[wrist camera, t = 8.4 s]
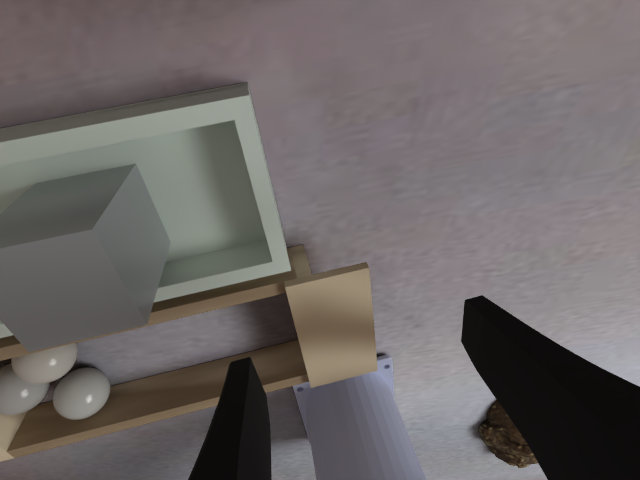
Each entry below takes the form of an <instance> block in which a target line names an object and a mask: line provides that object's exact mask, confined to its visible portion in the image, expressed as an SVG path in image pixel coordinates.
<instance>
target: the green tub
mask: <svg viewBox="0 0 640 480" xmlns="http://www.w3.org/2000/svg"><path fill="white" fill-rule="evenodd" d="M131 164H136V165H137V167H138V169H139V171H140V174H141V176H142V178H143V180H144V183H145V185H146V187H147V189H148V192H149V194H150V196H151V198H152V201H153V203H154V205H155V207H156V210H157V212H158V214H159V216H160V219H161V221H162V223H163V225H164V228H165V230H166V232H167V234H168V237H169V239H170V241H171V244H170V247H169V251H168V254H167V258H166V261H165V265H164V268H163V272H162V275H161V278H160V282H159V285H158V289H157V292H156V296H155V299H154V302H158V301H162V300H167V299H171V298H175V297H179V296H184V295H188V294H192V293H197V292H201V291H205V290H210V289H214V288H218V287H222V286H227V285H231V284H235V283H240V282H244V281H248V280H253V279H257V278H261V277H265V276H270V275H274V274H278V273H283V272H287V271H291V267H290V262H289V257H288V253H287V248H286V243H285V238H284V234H283V230H282V226H281V221H280V217H279V213H278V209H277V204H276V200H275V196H274V192H273V188H272V183H271V179H270V175H269V171H268V166H267V162H266V158H265V154H264V149H263V145H262V141H261V137H260V133H259V128H258V124H257V120H256V116H255V111H254V107H253V103H252V99H251V95H250V90H249V86H248V82H246V83H240V84H235V85H230V86H224V87H219V88H214V89H208V90H203V91H198V92H192V93H187V94H182V95H176V96H171V97H166V98H160V99H155V100H150V101H144V102H139V103H134V104H128V105H123V106H118V107H112V108H107V109H102V110H96V111H91V112H86V113H80V114H75V115H70V116H64V117H59V118H54V119H48V120H43V121H38V122H32V123H27V124H22V125H16V126H11V127H6V128H0V213H2V212H3V211H4V210H5V209H6V208H7V207H9V206H10V205H11V204H12V203H13V202H14V201H16V200H17V199H18V198H19V197H20V196H21V195H23V194H24V193H25V192H26V191H27V190H28V189H30V188H31V187H32V186H33V185H34V184H36V183H39V182H44V181H49V180H54V179H59V178H64V177H70V176H75V175H80V174H85V173H90V172H95V171H100V170H105V169H111V168H116V167H121V166H126V165H131ZM12 335H13V334H12V333H11V332H10V331H9V329H8V328H7V327H6V326H5V325H4V324H3V323H2V322H1V321H0V338H3V337H8V336H12Z"/></svg>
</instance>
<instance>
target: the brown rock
mask: <svg viewBox="0 0 640 480" xmlns="http://www.w3.org/2000/svg"><path fill="white" fill-rule="evenodd" d="M478 432H479V434H480V438H481V439H482V440H483V441H484V443H485V444H486V445H489V449H490V451H491V452H492V453H493V454H495V456H496V457H497V458H499V459H501V460H503V461H504V462H506V463H507V464H509V465H513V466H515V465H516V466H518V468H524V467H527V466H529V465H530V464H536V463H538V461H537V460H536V458H535V456H534V454H533V453H532V451H531V449H530V448H529V446H528V444H527V443H526V441H525V440H524V438H523V437H522V435H521V433H520V432H519V430H518V429H517V428H516V426H515V425H514V423H513V422H512V420H511V419H510V418H509V416H508V415H507V413H506V412H505V410H504V409H503V408H502V406H501V405H500V403H499V402H498V400H497V401H496V402H494V403H493V404H492V406H491V407H490V408H489V410H488V412H487V420H485V421H484V422H483V423H482V424H481V425H480V426H479V428H478Z"/></svg>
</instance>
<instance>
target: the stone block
mask: <svg viewBox="0 0 640 480" xmlns="http://www.w3.org/2000/svg"><path fill="white" fill-rule="evenodd" d="M170 244H171V241H170V239H169V237H168V234H167V232H166V230H165V228H164V225H163V223H162V221H161V219H160V216H159V214H158V212H157V210H156V207H155V205H154V203H153V201H152V198H151V196H150V194H149V192H148V189H147V187H146V185H145V183H144V180H143V178H142V176H141V174H140V171H139V169H138V167H137V165H136V164H131V165H126V166H121V167H116V168H111V169H105V170H100V171H95V172H90V173H85V174H80V175H75V176H70V177H64V178H59V179H54V180H49V181H44V182H39V183H36V184H34V185H33V186H32V187H31V188H30V189H28V190H27V191H26V192H25V193H24V194H23V195H21V196H20V197H19V198H18V199H17V200H16V201H14V202H13V203H12V204H11V205H10V206H9V207H7V208H6V209H5V210H4V211H3V212H2V213H0V321H1V322H2V323H3V324H4V325H5V326H6V327H7V328H8V329H9V331H10V332H11V333H12V334H13V335H14V336H15V337H16V338H17V340H18V341H19V342H20V343H21V344H22V345H23V346H24V347H25V348H26V350H27V351H28V352H32V351H36V350H41V349H45V348H49V347H54V346H58V345H62V344H66V343H71V342H75V341H79V340H84V339H88V338H92V337H96V336H101V335H105V334H109V333H114V332H118V331H122V330H127V329H131V328H135V327H139V326H144V325H147V324H148V320H149V317H150V313H151V310H152V306H153V303H154V299H155V296H156V292H157V289H158V285H159V282H160V278H161V275H162V272H163V268H164V265H165V261H166V258H167V254H168V251H169V247H170Z"/></svg>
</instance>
